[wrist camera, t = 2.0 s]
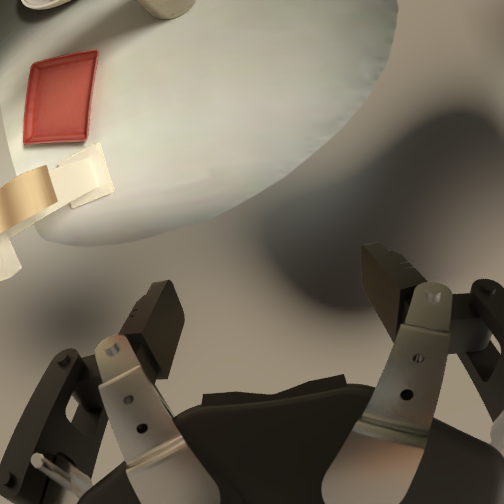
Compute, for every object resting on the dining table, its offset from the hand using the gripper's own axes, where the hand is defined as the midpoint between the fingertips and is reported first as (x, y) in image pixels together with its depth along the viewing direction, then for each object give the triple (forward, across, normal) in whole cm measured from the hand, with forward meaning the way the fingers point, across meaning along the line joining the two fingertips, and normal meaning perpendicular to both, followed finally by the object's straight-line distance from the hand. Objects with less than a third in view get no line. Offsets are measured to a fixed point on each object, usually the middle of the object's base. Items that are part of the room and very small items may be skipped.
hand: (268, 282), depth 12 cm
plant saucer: (+39, +34, -24) cm, 57 cm away
